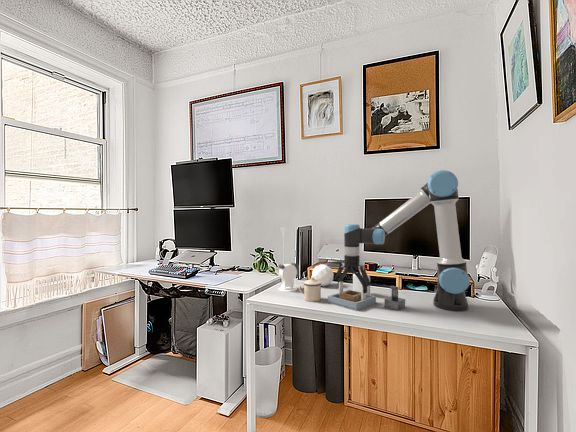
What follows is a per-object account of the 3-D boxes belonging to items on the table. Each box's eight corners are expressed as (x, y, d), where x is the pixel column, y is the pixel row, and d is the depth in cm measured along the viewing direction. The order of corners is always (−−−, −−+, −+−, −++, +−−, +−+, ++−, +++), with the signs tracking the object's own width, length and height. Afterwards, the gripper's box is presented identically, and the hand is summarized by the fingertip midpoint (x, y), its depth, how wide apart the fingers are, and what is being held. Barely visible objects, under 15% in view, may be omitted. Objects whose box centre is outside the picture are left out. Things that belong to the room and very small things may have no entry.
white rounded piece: (289, 285, 196) (289, 261, 195) (302, 289, 187) (301, 264, 186) (274, 288, 188) (274, 263, 188) (286, 292, 179) (286, 266, 179)
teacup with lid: (323, 298, 168) (323, 276, 168) (317, 302, 160) (317, 280, 160) (302, 295, 173) (302, 274, 173) (296, 300, 165) (296, 277, 165)
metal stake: (405, 307, 152) (405, 286, 152) (398, 310, 147) (398, 289, 147) (391, 304, 157) (391, 284, 157) (384, 307, 152) (384, 286, 152)
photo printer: (351, 293, 178) (351, 271, 178) (356, 291, 181) (356, 270, 180) (366, 297, 170) (366, 274, 170) (371, 295, 173) (371, 273, 172)
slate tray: (375, 303, 159) (375, 296, 159) (356, 310, 148) (356, 303, 147) (347, 296, 172) (347, 289, 171) (328, 303, 160) (328, 296, 160)
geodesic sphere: (321, 281, 183) (329, 260, 189) (303, 277, 193) (311, 258, 198) (332, 292, 192) (340, 272, 197) (315, 288, 201) (323, 269, 207)
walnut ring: (354, 304, 153) (354, 296, 153) (339, 301, 160) (339, 293, 160) (366, 300, 160) (366, 292, 160) (351, 296, 167) (351, 289, 167)
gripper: (378, 256, 152) (377, 300, 153) (336, 251, 170) (336, 290, 171) (369, 258, 147) (369, 303, 148) (327, 253, 165) (327, 293, 166)
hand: (351, 296), depth 159 cm, fingers open, 13 cm apart
